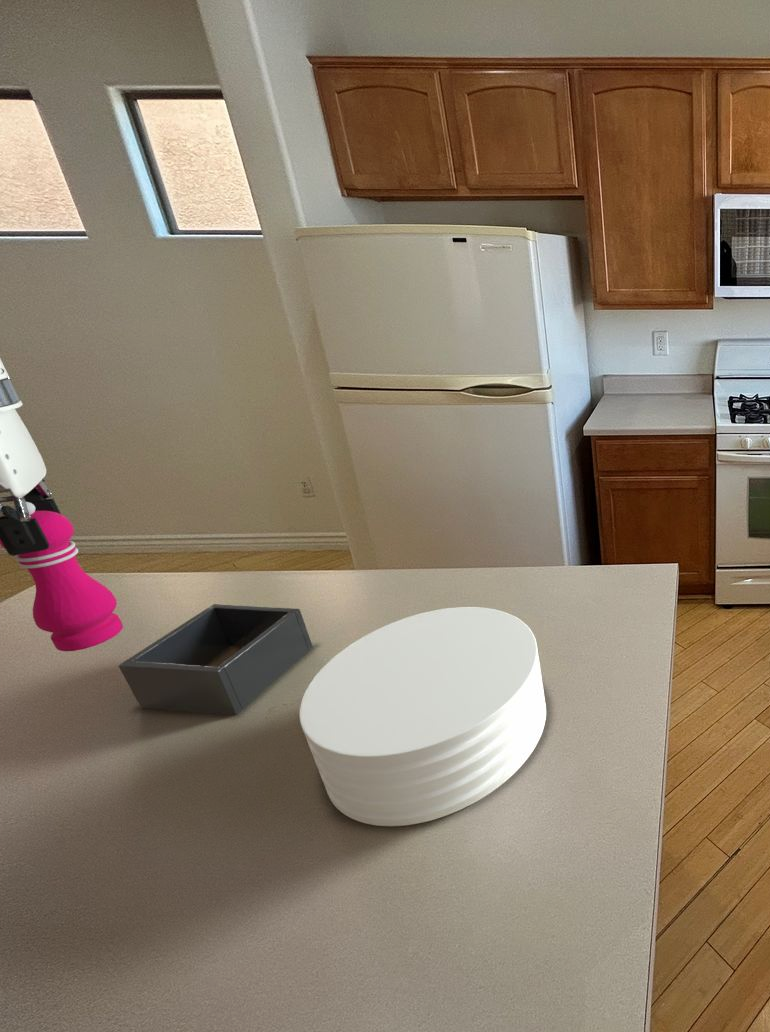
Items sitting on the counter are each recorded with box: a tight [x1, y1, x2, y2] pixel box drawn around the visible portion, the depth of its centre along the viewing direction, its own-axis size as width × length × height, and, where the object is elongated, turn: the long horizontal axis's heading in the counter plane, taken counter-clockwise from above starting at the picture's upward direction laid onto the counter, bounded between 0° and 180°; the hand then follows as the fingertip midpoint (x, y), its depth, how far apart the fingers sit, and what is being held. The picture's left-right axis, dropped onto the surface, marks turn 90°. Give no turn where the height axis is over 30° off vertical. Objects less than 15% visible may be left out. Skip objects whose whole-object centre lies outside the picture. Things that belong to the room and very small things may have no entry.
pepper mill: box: [0, 502, 124, 652], centre depth 71 cm, size 7×7×20 cm
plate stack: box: [299, 606, 547, 827], centre depth 76 cm, size 28×28×12 cm
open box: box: [117, 603, 314, 716], centre depth 86 cm, size 15×15×8 cm
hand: (39, 539), depth 69 cm, fingers closed on pepper mill, 6 cm apart
